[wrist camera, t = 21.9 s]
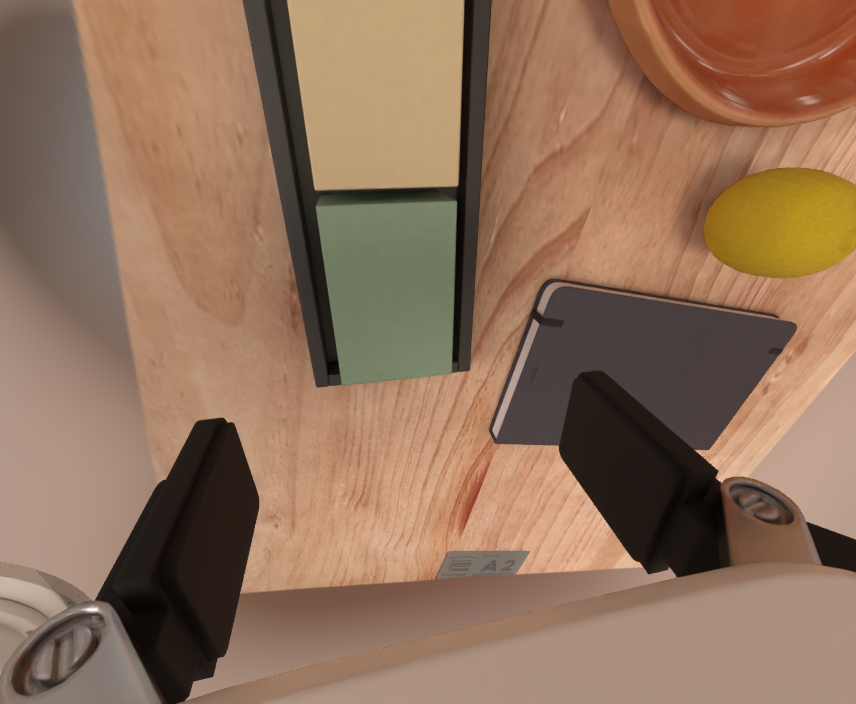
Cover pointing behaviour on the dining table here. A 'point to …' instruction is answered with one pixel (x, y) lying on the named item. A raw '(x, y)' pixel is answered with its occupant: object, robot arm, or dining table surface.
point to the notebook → (636, 360)
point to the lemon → (783, 223)
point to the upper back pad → (380, 91)
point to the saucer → (746, 56)
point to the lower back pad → (390, 282)
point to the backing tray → (301, 198)
